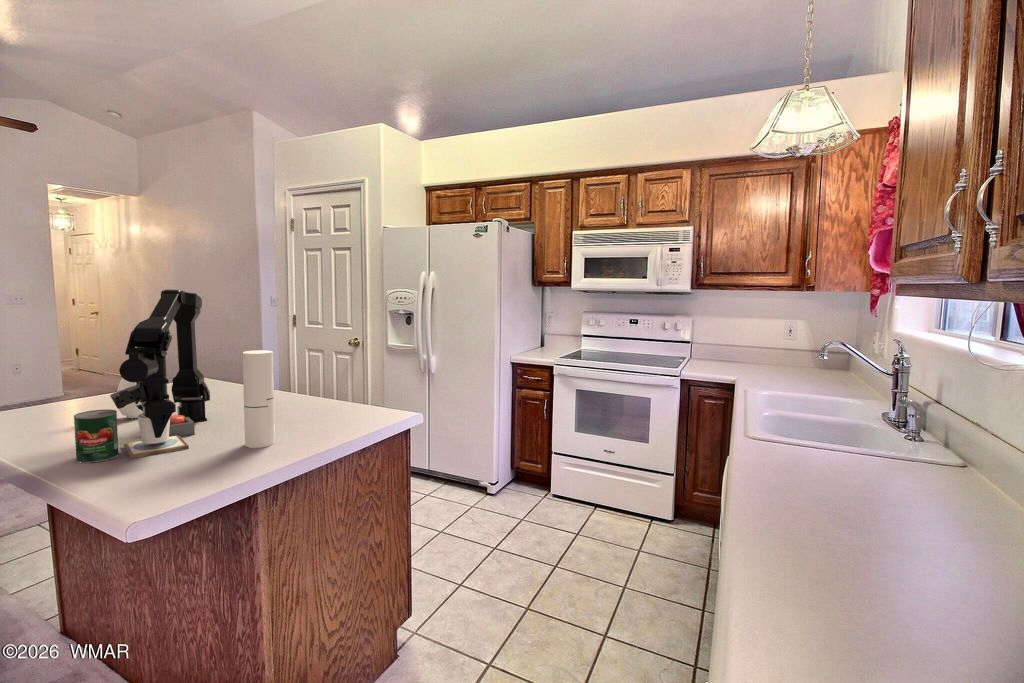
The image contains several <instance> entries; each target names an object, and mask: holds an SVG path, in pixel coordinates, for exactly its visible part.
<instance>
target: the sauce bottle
mask: <svg viewBox="0 0 1024 683" xmlns="http://www.w3.org/2000/svg"><path fill="white" fill-rule="evenodd" d="M135 385H136V382H129V381H126V380H125V379H123V378H122V377H121V379H120V381H119V384H118V386H117V390H116V392H118V391H121V390H124V389H126V388H129V387H132V386H135ZM136 405H140V402H138V404H135V403H134V402H133V403H131V404H128V405H126V406H125V407H123V408H120V409H118V411H119V412H120V414H121V415H122V416H126V418H127V419H128V418H129V419H130V418H132V420H134V419H133V418H135V419H138V418H137V417H138V415H140V414H143V411H142V410H140V409H139V408H137V406H136Z"/></svg>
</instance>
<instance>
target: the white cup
mask: <svg viewBox="0 0 1024 683" xmlns="http://www.w3.org/2000/svg"><path fill="white" fill-rule="evenodd" d="M137 422H138V426H139V433H140V438H141V440H140V441H142V443H144V444H155V443H161V442H164V441H167V440H169V427H170V419H169V421H168V423H167V425H166V427H165V429H164V431H163V433H162V435H161V437H160V438H155V435H154V431H153V428H152V424H151V421H150V419H149V418H147V417H145V416H144V415H143V414H140V415H138V418H137Z"/></svg>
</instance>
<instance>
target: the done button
mask: <svg viewBox="0 0 1024 683" xmlns="http://www.w3.org/2000/svg"><path fill="white" fill-rule="evenodd" d="M180 423H185V419H184V416H183V415H178V414H177V415H176V414H175V415H173V414H172V415H171V417H170V425H173V424H180Z"/></svg>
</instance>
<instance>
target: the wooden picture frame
mask: <svg viewBox="0 0 1024 683" xmlns="http://www.w3.org/2000/svg"><path fill="white" fill-rule="evenodd" d="M122 445H123V446H124V447H123V448H124V450H125V452H126V451H127V452H126V454H127V453H128V454H127V456H128V455H129V456H128V457H129V459H130V458H132V459H136V458H135V457H137V458H143V457H148V455H149V456H153V455H154V456H155V455H159V453H161V454H166V453H170V452H171V453H172V452H177V451H178V452H179V451H182V450H183V449H184V450H188V449H190V448H189V447H190V446H189V444H188V443H187V442H186V441H185V440H184V439H183V438H182V437H180V436H179V435H176V436H170V437H169V440H167V441H164V442H161V443H155V444H144V443H142V440H138V441H132V442H124V443H123V444H122ZM142 456H143V457H142Z"/></svg>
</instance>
